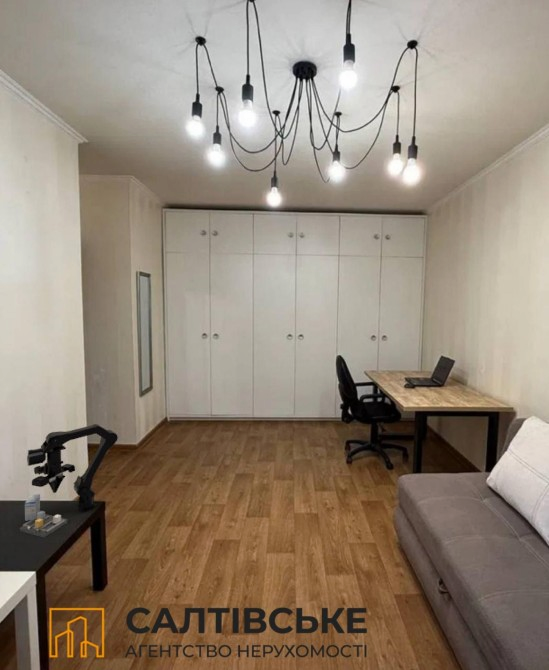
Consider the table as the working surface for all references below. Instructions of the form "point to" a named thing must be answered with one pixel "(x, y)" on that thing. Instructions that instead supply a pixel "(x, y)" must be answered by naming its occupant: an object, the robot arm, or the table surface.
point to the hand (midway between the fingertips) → (54, 492)
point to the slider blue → (41, 515)
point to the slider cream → (56, 519)
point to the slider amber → (39, 523)
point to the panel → (44, 529)
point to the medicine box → (32, 507)
